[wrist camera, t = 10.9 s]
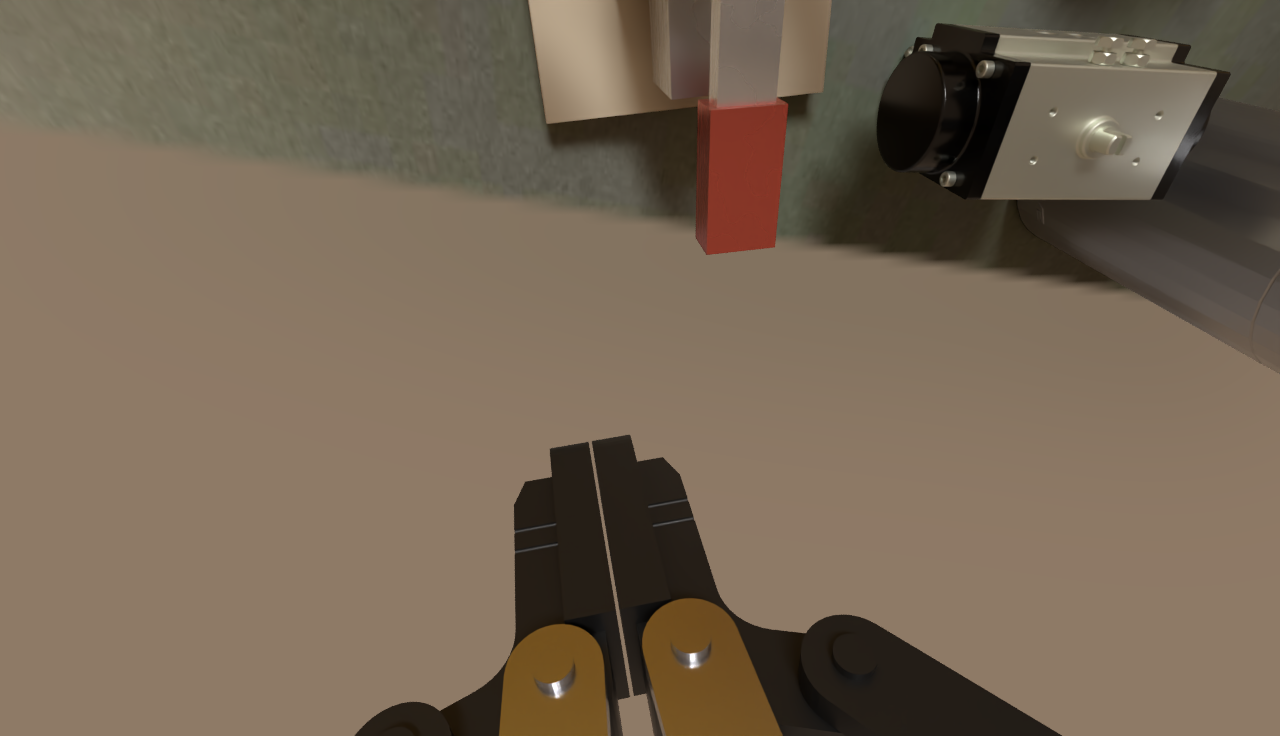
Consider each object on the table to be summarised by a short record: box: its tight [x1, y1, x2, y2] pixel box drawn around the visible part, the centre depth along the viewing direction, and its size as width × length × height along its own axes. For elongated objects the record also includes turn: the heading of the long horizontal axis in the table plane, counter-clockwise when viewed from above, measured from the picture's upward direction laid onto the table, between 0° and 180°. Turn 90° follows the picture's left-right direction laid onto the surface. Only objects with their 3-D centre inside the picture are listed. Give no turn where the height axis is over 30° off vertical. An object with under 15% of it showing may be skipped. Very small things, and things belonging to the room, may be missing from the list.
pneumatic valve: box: [877, 23, 1231, 200], centre depth 27 cm, size 6×12×12 cm, turn 86°
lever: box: [696, 0, 788, 255], centre depth 20 cm, size 12×3×2 cm, turn 2°
